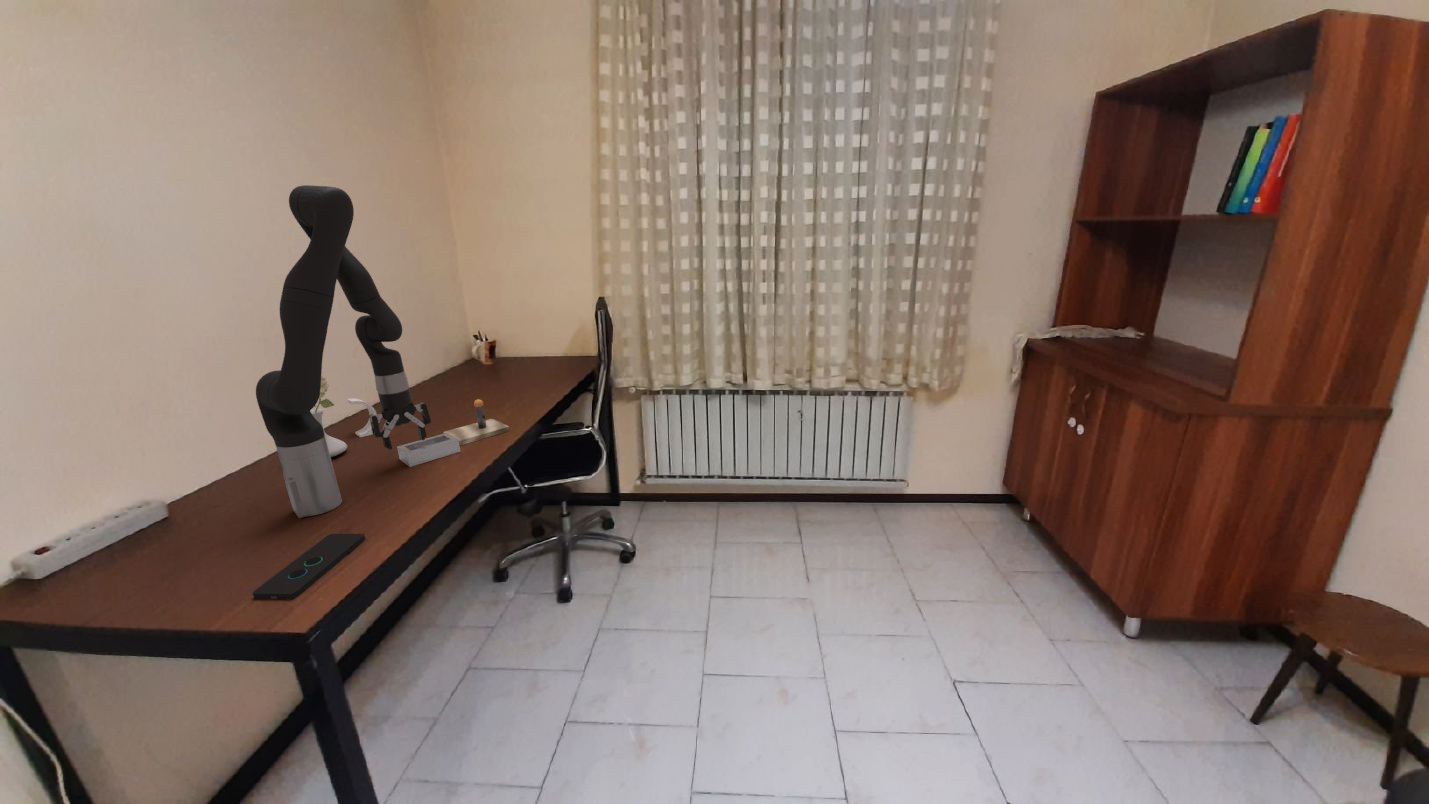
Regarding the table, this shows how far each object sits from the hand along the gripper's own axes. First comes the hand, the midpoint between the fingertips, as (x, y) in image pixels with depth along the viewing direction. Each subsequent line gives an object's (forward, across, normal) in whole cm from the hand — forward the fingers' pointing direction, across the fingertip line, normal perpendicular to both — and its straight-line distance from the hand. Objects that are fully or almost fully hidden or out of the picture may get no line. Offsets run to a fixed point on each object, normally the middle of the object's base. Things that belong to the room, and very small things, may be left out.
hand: (406, 444), depth 154 cm
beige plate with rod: (+6, +22, +8) cm, 24 cm away
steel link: (+6, +6, 0) cm, 8 cm away
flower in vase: (+6, -15, +24) cm, 29 cm away
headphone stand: (+6, -1, +36) cm, 37 cm away
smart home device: (+5, -31, -40) cm, 51 cm away
